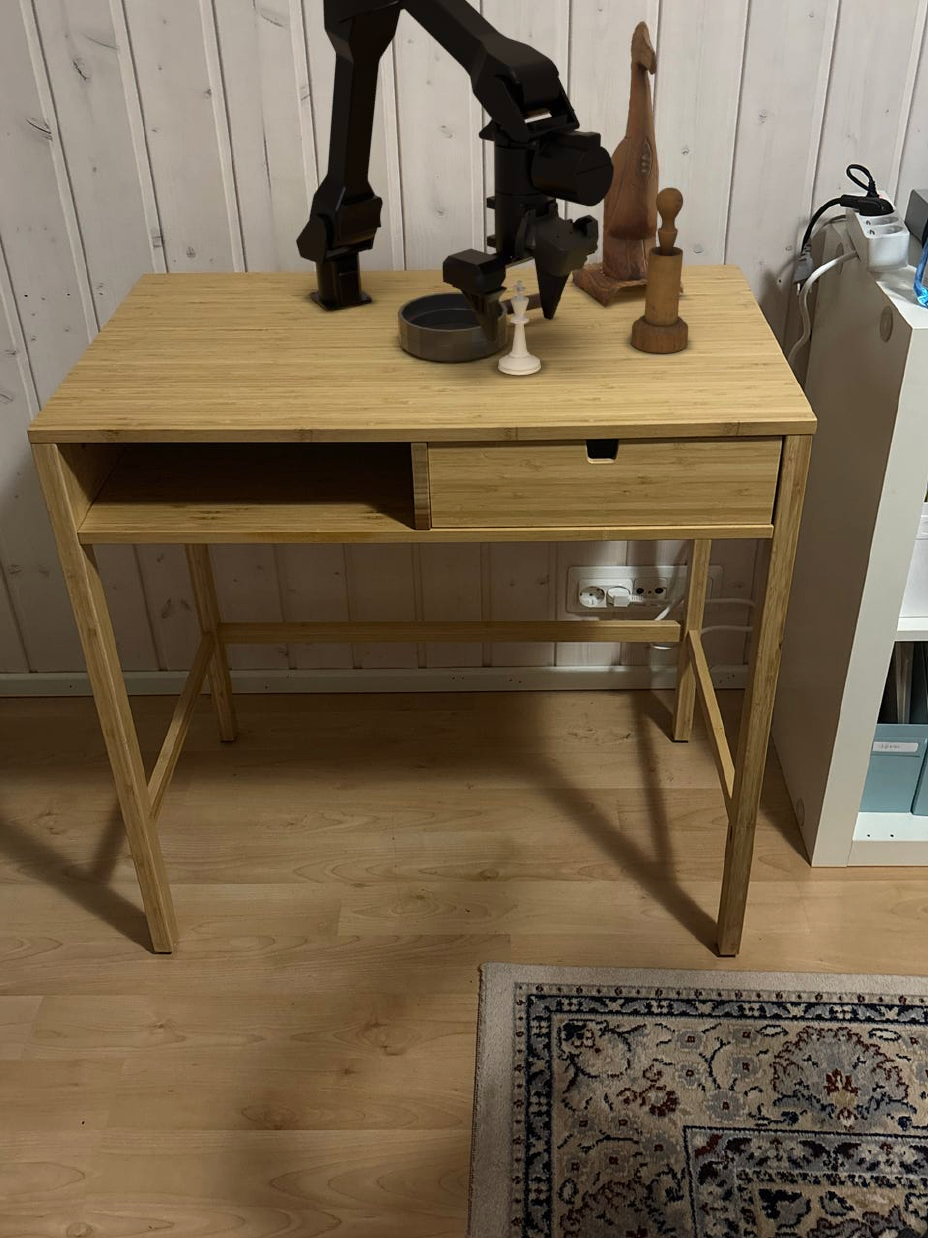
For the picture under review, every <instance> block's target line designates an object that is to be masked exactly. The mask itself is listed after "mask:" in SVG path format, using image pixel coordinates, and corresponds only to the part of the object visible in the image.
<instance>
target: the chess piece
mask: <svg viewBox="0 0 928 1238" xmlns="http://www.w3.org/2000/svg"><path fill="white" fill-rule="evenodd" d="M523 283H524V282H523V281H522V280H517V281H516V284H514V285H512V290H513V291H516V295H514V296H512V297H511V298H510V299H511V303H512V306H513V309H514V312H515V314H514V315H513V316H511V317H510V320H509V322H510V323H512V324H515V326H514V335H513V343H512V348H511V351H510V352H509V354H506V355H504V356H502V357H500V359H499V360H498V365H497V369H498V370H499V371H500V372H502V373H503V374H507V375H513V376H526V375H531V374H535V373H537V372H538V371H540V370H541V367H542V366H541V360H540V358H539V357H537V356H535V355H533V354H531V353H530V351H528V349H527V341H526V333H525V324H527V323H529V322H530V319H529V317H528V316H526V315H525V314H526V312H527V311H526V307H527V305H528V302H529V299H528V298H527V297H526V296H527V295H523V294H524V293H527V292H528V288H527V287H525V286H524V285H523Z"/></svg>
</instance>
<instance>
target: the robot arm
mask: <svg viewBox="0 0 928 1238" xmlns="http://www.w3.org/2000/svg"><path fill="white" fill-rule="evenodd" d="M322 7H323V8H322V9H323V10H322V11H323V28H324V31H325V33H326V36H327V37H328V40H329V42H330V44H331V46H332V49H333V51H334V53H335V63H334V75H333V77H334V78H333V90H332V91H333V92H332V104H331V117H330V132H329V145H328V146H329V147H328V158H327V159H328V160H327V170H326V171H327V172H326V175H325V177H324V178H323V180H322V181H321V183H320V184H319V186H318V187H317V189H316V191H315V192H314V194H313V197H312V201H311V206H310V211H309V216H308V217H309V218H308V221H307V223H306V224H305V226H304V227H303V229H302V230H301V232H300V234H299V235H298V236H297V238H296V240H295V243H296V247H297V250H298V254H299V257H300V258H301V259H305V260H308V261H310V262H313V263H315V273H316V283H317V291H316V290H315V291H312V292H309V298H310V299H312V300H314V302H316V303H317V304H318V305H319V306H320V307H322V308H323V309H324V310H326V311H333V310H338V309H343V308H348V307H353V306H359V305H362V304H368V303H371V302H372V301H373V299H372V296H371V295H369V294H367V293H366V292H365V291H363V289H362V277H361V276H362V275H361V264H360V253H362V252H365V251H370V250H373V249H374V243H375V237H376V234H377V233H378V229H379V228H381V227H382V222H381V221H382V220H381V214H382V208H383V205H384V202H383V198H382V197H381V196H378V195H377V194H376V193H375V191H374V189H373V187H372V184H371V183H370V180H369V172H370V171H369V170H370V160H371V149H372V141H373V140H372V139H373V129H374V120H375V108H376V101H377V100H376V98H377V89H378V80H379V79H378V77H379V67H380V61H381V59H382V57H383V56H384V54H385V52H386V51H387V49H388V48H389V45H391V42H392V41H393V39H394V38H395V37H396V33H397V28H398V26H399V25H398V24H399V19H400V17H401V16H400V15H401V12H402V11H404V10H405V12H406V13H407V14H409V16H410V17H412V18H413V19H414V21H415V22H417V23H418V25H419V26H420V27H421V28H423V29H424V30H425V31H426V33H428V34H429V35H430V36H431V38H433V39H434V40H435V42H437V43H438V44H439V45H440V46H441V48H442V49H444V50H445V51H446V52H447V53H448V54H449V55H450V57H452V58H453V59H454V60H455V61H456V62H457V63H458V64H459V65H460V66H461V68H463V69H464V71H465V72H466V73H467V75H468V76H469V79H470V84H471V91H472V94H473V95H474V97H475V99H477V101H478V102H479V104H480V105H481V107H482V108H483V109H484V111H485V112H486V113H487V115H488V116H489V117H490V120H489V122H488V123H487V124H486V125H485V126H484V127H483V128H482V129H481V130H479V132H478V138H479V139H481V140H484V141H487V142H488V141H489V142H493V195H491V196H488V197H486V198H485V204H486V206H485V207H486V208H487V209H490V210H493V211H494V215H493V216H494V234H491V235H487V236H486V247H490V248H493V249H495V252H493V253H487V252H484V251H481V250H477V249H474V248H468V249H465V250H462V251H458V252H454V253H453V254H449V255H447V257H446V258H445V259H444V260H443V261H442V282H443V283H445V284H448V285H451V287H452V288H454V289H457V290H459V291H460V292H462V293H463V295H464V297H465V298H466V300H467V301H468V303H469V305H470V306H471V308H472V310H473V312H474V314H475V316H476V318H477V320H478V322H479V324H480V326H481V328H482V330H483V332H484V334H485V336H486V338H487V340H488V341H490V342H493V343H494V342H496V340H497V333H498V309H499V301H500V298H501V297H502V296H503V295H504V293H505V292H507V290H508V287H507V286H505V285H503V284H504V282H505V280H506V279H507V269H510V268H512V267H516V266H518V265H521V264H524V263H527V262H530V261H533V260H534V267H535V273H536V279H537V287H538V293H539V294H540V301H541V307H542V308H541V310H542V316H543V318H544V319H545V320H547V321H552V320H553V319H554V317H555V314H556V312H557V309H558V306H559V303H560V302H561V300H560V298H561V299H562V295H563V292H564V290H565V287H566V284H567V282H568V279H569V277H570V276H571V274H572V272H573V270H576V269H577V270H580V269H582V268H583V267H584V265H585V264H586V262H587V261H588V256H591V255H593V254H596V252H597V251H598V248H599V245H598V242H599V239H600V233H599V220H598V219H597V218H595V217H594V216H593V215H591V214H587V215H584V216H583V215H582V216H580V217H578V218H577V219H575V220H573V218H568V219H564V218H562V217H561V216H560V214H559V203H558V202H557V200H561V201H564V202H568V203H572V204H576V205H580V206H585V207H587V208H589V207H595V206H597V205H598V204H600V203H601V202H602V201H604V198H605V196H606V195H607V193H608V191H609V189H610V187H611V184H612V180H613V174H614V165H613V164H612V161H611V157H612V156H611V155H610V152H609V151H608V150H607V149H606V148H605V147H604V146H602V134H601V133H600V132H598V131H597V132H596V131H592V130H591V131H582V130H579V129H580V127H581V124H580V123H581V122H580V121H579V119H578V116H577V115H576V112H575V111H576V110H575V109H574V107H573V106H572V104H571V102H570V99H569V97H568V95H567V93H566V90H565V88H564V86H563V84H562V81H561V80H560V71H559V69H558V66H557V65H556V64H555V63H554V61H553V60H552V59H551V58H549V57H548V56H547V55H546V54H543V53H542V52H540V51H539V50H537V49H536V48H534V47H533V46H531V45H530V44H527V43H525V42H521V41H519V40H515V39H513V38H509V37H507V36H506V35H504V34H502V33H501V32H499V30H497V29H496V28H495V27H494V25H493V24H491V23H490V22H489V21H488V20H487V19H486V18H485V16H483V15H482V14H481V13H480V12H479V11H478V10H477V9H476V8H475V7H474V6H473V5H472V4H471V3H469V1H468V0H322ZM546 115H550V116H548V117H547V116H546ZM542 116H546V117H543V118H540V119H535V118H539V117H542ZM531 119H535V120H531ZM526 120H531V121H528V122H526ZM559 301H560V302H559Z"/></svg>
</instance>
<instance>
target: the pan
mask: <svg viewBox="0 0 928 1238" xmlns="http://www.w3.org/2000/svg"><path fill="white" fill-rule="evenodd" d="M501 301H502V300H499V312H498V314H499V315H498V333H497V340H496V342H494V343H493V342H490V341H488V340H487V338H486V336H485V334H484V332H483V330H482V328H481V326H480V324H479V322H478V320H477V318H476V316H475V314H474V312H473V310H472V308H471V306H470V305H469V303H468V301H467V300H466V298H465V297H464V295H463V293H462V292H461V291H450V292H436V293H432V294H425V295H421V296H418V297H416V298H413V299H410V300H407V302H405V303H404V304H402V305H401V306H400V307H399V309H398V310H397V328H398V329H397V330H398V342H399V345H400V347H401V348H402V349H404V350H405V351H406V352H408V353H409V354H411V355H412V356H415V357H417V358H420V359H423V360H427V361H433V362H443V363H457V362H459V363H461V362H468V361H474V360H479V359H482V358H485V357H488V356H490V355H493V354H494V353H495V352H497V351H499V350H500V349H501V348H503V347H504V346H505V345H506V344H507V340H508V337H509V334H508V333H509V331H508V328H509V327H508V324H509V318H508V316H509V315H508V309H507V308H506V306H505V304H504V303H502V302H501Z"/></svg>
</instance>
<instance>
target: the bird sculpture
mask: <svg viewBox="0 0 928 1238" xmlns="http://www.w3.org/2000/svg"><path fill="white" fill-rule="evenodd" d="M656 54H657V53H656V51H655V49H654V46H653V44H652V40H651V36H650V32H649V27H648V24H647V23H646V22H645V21H644V20H642V21H639V22H638V23H637V25H636V26H635V28H634V31H633V33H632V36H631V46H630V56H631V57H630V58H631V63H630V91H629V100H628V112H627V119H626V120H627V121H626V127H625V135H624V136H623V138H622V139H621V140H620V142H619V143H618V144H617V146H616V147H615V148H614V151H613V153H612V154H611V156H610V157H611V161H612V164H613V165H614V174H613V180H612V184H611V187H610V189H609V191H608V193H607V195H606V196H605V198H604V199H603V214H602V216H603V217H602V220H603V222H602V223H603V224H602V261H600V262H593V263H584V267H583V268H582V269H580V270H577V269H576V270H573V271H572V272H571V275H572V281H571V283H574V285H576V284H577V286H578V287H579V288H580V289H584V291H585V292H587V293H588V294H589V295H591V296H592V297H593V298H595V299H597V301H600V302H601V303H602V304H603V305H606V304H607V302H608V301H609V299H611V297H612V296H613V295H614V294H616V293H617V292H618V291H619V290H620V289H621V288H625V287H633V286H640V285H647V274H648V258H649V250H650V249H651V248H653V247H657V233H658V217H659V216H658V214H659V212H658V210H657V207H656V198H657V196H658V194H659V187H660V185H659V184H660V181H659V180H660V167H659V159H658V152H657V151H658V150H657V142H656V133H655V123H654V110H653V102H652V91H651V90H652V89H651V88H652V87H651V82H650V81H651V80H650V77H649V75H651V76H653V75H656V73H657V66H658V64H657V55H656ZM680 294H682V295H684V284H683V282H682V281H680Z"/></svg>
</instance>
